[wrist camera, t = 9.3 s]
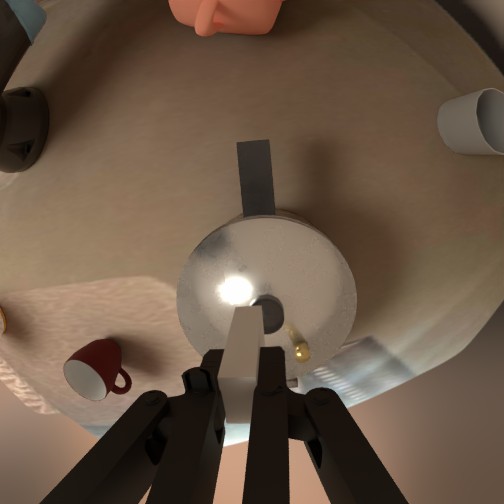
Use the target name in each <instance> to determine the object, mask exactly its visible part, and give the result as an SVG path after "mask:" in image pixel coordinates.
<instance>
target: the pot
mask: <svg viewBox="0 0 504 504" xmlns="http://www.w3.org/2000/svg"><path fill="white" fill-rule="evenodd" d="M237 154H238V164H239V175H240V185H241V196H242V206H243V214H240V215H238V216H236V217H235V218H233V219H231V220H230V221H228V222H227V223H226V224H224V225H222V226H221V227H219V228H217V229H216V230H214V231H213V232H212V233H210V234H209V235H208V236H207V237H206V238H208V237H209V236H210V235H211V234H213V233H214V232H216V231H217V230H219V229H221V228H222V227H224V226H227V225H229V224H231V223H234V222H237V221H240V220H244V219H248V218H255V217H278V218H285V219H289V220H293V221H297V222H299V223H302V224H304V225H306V226H309V227H311V228H312V229H314V230H316V231H317V232H319V233H320V234H322V235H323V236H324V237H326V238H327V239H328V240H329V241H330V242H331V243H332V244H333V245H334V246H335V247H336V248H337V246H336V245H335V244H334V243H333V242H332V241H331V240H330V239H329V238H328V237H327V236H326V235H325V234H323V233H322V232H321V231H319V230H318V229H316V228H315V227H314V226H313V225H312V224H311V223H310V222H308V221H307V220H306V219H304V218H302V217H300V216H299V215H296V214H294V213H291V212H288V211H285V210H280V209H275V201H274V189H273V177H272V166H271V155H270V144H269V140H257V141H246V142H237ZM206 238H204V239H203V241H204V240H205V239H206ZM203 241H202V242H203ZM202 242H201V243H202ZM201 243H200V244H201ZM200 244H199V245H200ZM199 245H198V246H199ZM198 246H197V247H198ZM197 247H196V248H197ZM196 248H195V250H196ZM337 249H338V248H337ZM195 250H194V251H195ZM194 251H193V252H194ZM338 251H339V252H340V250H339V249H338ZM340 253H341V252H340ZM191 255H192V254H191ZM341 255H342V253H341ZM342 256H343V255H342ZM343 258H344V256H343ZM344 259H345V258H344ZM347 264H348V263H347ZM348 266H349V265H348Z"/></svg>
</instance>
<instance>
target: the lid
mask: <svg viewBox="0 0 504 504" xmlns="http://www.w3.org/2000/svg"><path fill="white" fill-rule="evenodd" d="M260 305H262V316H263V327H264V339H265V347H272V346H281V347H282V349H283V350H284V351H285V364H286V383H287V386H288V388H294V387H298V380H297V377H300V376H303V375H305V374H307V373H310V372H312V371H314V370H315V369H317V368H319V367H320V366H322V365H323V364H324V363H326V362H327V361H328V360H329V359H331V358H332V357H333V356H334V355H335V354H336V353H337V352H338V350H339V349H340V348H341V346H342V345H343V344H344V342H345V341H346V339H347V337H348V335H349V333H350V331H351V329H352V326H353V323H354V320H355V316H356V309H357V291H356V286H355V281H354V278H353V275H352V272H351V270H350V268H349V266H348V264H347V262H346V260H345V259H344V258H343V256H342V255H341V253H340V252H339V251H338V249H337V248H336V247H335V246H334V245H333V244H332V243H331V242H330V241H329V240H328V239H327V238H326V237H324V236H323V235H322V234H320V233H319V232H317V231H316V230H314V229H312V228H311V227H309V226H306V225H304V224H302V223H299V222H297V221H293V220H289V219H285V218H278V217H255V218H248V219H244V220H240V221H237V222H234V223H231V224H229V225H227V226H224V227H222V228H221V229H219V230H217V231H216V232H214V233H213V234H211V235H210V236H209V237H208V238H206V239H205V240H204V241H203V242H202V243H201V244H200V245H199V246H198V247H197V248H196V250H195V251H194V252H193V253H192V255H191V256H190V257H189V259H188V260H187V262H186V264H185V266H184V268H183V270H182V273H181V276H180V279H179V282H178V288H177V311H178V316H179V320H180V324H181V326H182V328H183V331H184V333H185V335H186V337H187V338H188V340H189V342H190V343H191V345H192V346H193V347H194V349H195V350H196V351H197V352H198V353H199V354H200V355H201V356H202V357H204V355H205V354H206V353H207V352H208V351H209V350H210V349H225V346H226V342H227V338H228V334H229V330H230V326H231V322H232V318H233V315H234V311H235V307H241V306H260Z"/></svg>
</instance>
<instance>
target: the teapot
mask: <svg viewBox="0 0 504 504" xmlns="http://www.w3.org/2000/svg"><path fill="white" fill-rule="evenodd" d="M168 1H169V5H170V8H171V10H172V13H173V15H174V17H175V18H176V19H177V20H178V21H179V22H180V23H182V24H184V25H187V26H191V27H195V31H196V33H197V34H198V35H199V36H203V37H207V36H211V35H213V34H215V33H216V32H221V33H231V34H247V35H263V34H266V33H268V32H269V31H270V30H271V28H272V27H273V25H274V23H275V20H276V18H277V15H278V12H279V10H280V7H281V4H282V1H285V0H168Z"/></svg>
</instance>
